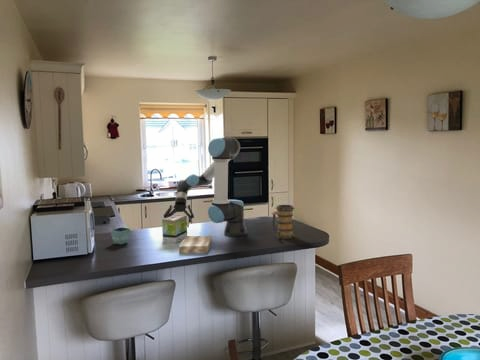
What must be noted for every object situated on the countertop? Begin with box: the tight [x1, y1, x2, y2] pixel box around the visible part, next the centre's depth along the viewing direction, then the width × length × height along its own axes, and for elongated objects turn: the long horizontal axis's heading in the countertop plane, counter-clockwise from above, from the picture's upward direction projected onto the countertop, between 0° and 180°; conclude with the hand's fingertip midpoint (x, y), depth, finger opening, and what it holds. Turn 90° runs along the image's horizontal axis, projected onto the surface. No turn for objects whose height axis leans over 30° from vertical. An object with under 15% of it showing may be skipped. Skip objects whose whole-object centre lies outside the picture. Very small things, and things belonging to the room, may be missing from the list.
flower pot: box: [110, 226, 131, 245], centre depth 233 cm, size 9×9×9 cm
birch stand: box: [178, 235, 213, 254], centre depth 221 cm, size 16×22×4 cm
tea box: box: [161, 214, 188, 244], centre depth 238 cm, size 15×10×15 cm
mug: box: [271, 204, 296, 240], centre depth 239 cm, size 13×17×20 cm
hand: (177, 226), depth 243 cm, fingers open, 13 cm apart
